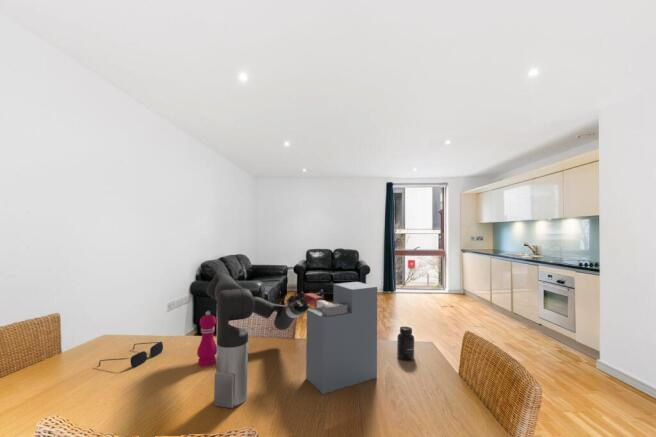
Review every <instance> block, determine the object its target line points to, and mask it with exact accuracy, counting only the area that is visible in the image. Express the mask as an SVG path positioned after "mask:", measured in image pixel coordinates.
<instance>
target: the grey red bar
mask: <svg viewBox="0 0 656 437" xmlns="http://www.w3.org/2000/svg"><path fill="white" fill-rule="evenodd" d="M315 294H316V293H313V292H309V293H304V302H305V303H307V304H309V306H311V307H312V308H319V309H321V310H322V315H324V316H326V317H329V316H335V315H342V314H347V304H344V303H337V304H333V303H331V302H330V301H326V300H324V299H323V297H320V296H318V295H315Z"/></svg>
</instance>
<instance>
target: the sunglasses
mask: <svg viewBox="0 0 656 437" xmlns="http://www.w3.org/2000/svg"><path fill="white" fill-rule="evenodd" d="M146 344H154V345H152V346H151V347H150V349H149V351H148V352H147V351H145V350H142V351H140V352H138V353H135V354H134V355H132V356H131V357H129V358H128V357H126V358H123V357H122V358H111V359H110V358H109V359H108V358H107V359H100V360H99V363H98V367H101V362H103V361H104V362H105V361H118V360H119V361H120V360H129V362H130V365H131V367H132V368H137V367H140V365H143V364H145V362H146V361H148V356H149V357H150V358H155V357H157V356H159V355H160V354H161V353H163V350H164V344H163V342H162V341H152V342H151V341H150V342H140V343H134V344H133V347H132V350H135V346H136V345H146Z"/></svg>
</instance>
